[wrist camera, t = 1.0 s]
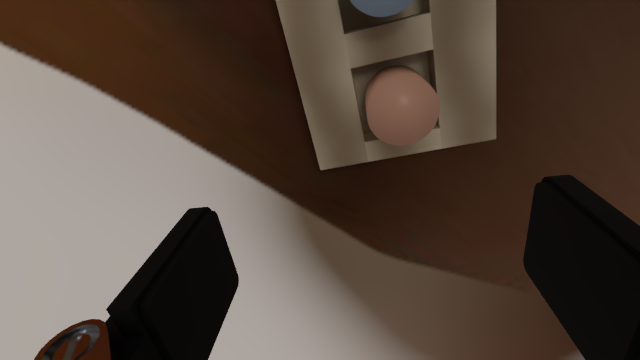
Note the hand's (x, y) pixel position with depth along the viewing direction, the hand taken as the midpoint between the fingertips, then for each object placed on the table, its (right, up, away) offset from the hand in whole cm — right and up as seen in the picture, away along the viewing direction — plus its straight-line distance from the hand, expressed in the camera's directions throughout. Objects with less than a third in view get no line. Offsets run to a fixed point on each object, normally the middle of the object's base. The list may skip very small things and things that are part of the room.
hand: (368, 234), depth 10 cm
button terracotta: (+3, +7, +12) cm, 14 cm away
